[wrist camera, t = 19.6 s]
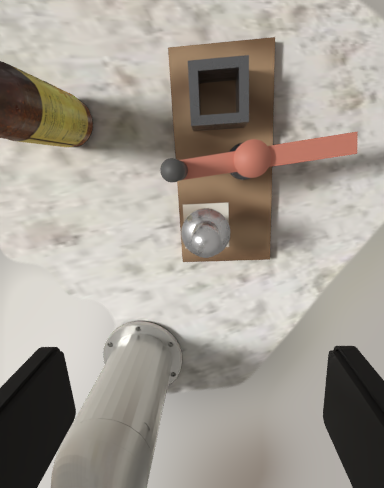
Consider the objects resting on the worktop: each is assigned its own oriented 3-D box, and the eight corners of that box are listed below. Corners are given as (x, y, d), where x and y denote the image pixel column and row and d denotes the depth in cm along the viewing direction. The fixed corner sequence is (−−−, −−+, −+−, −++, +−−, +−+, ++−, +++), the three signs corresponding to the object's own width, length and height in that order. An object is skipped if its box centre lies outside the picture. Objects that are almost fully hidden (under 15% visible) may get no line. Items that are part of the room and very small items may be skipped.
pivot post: (261, 178, 33) (270, 180, 28) (226, 180, 34) (229, 182, 29) (261, 141, 32) (271, 136, 27) (225, 144, 33) (228, 139, 28)
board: (268, 257, 37) (270, 259, 36) (183, 259, 38) (182, 262, 37) (273, 41, 30) (275, 36, 29) (169, 51, 31) (168, 47, 30)
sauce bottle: (82, 88, 33) (-94, -25, 14) (102, 139, 34) (-32, 99, 15) (37, 108, 34) (-184, 27, 15) (59, 156, 35) (-119, 139, 16)
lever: (173, 188, 29) (164, 193, 23) (167, 154, 28) (157, 150, 23) (350, 162, 27) (386, 160, 21) (350, 124, 26) (388, 112, 21)
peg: (227, 245, 36) (234, 269, 26) (186, 246, 36) (178, 271, 27) (226, 203, 35) (234, 213, 25) (184, 205, 35) (175, 215, 25)
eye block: (244, 127, 32) (248, 121, 28) (193, 131, 33) (190, 126, 29) (244, 69, 30) (248, 54, 27) (190, 74, 31) (187, 60, 27)
